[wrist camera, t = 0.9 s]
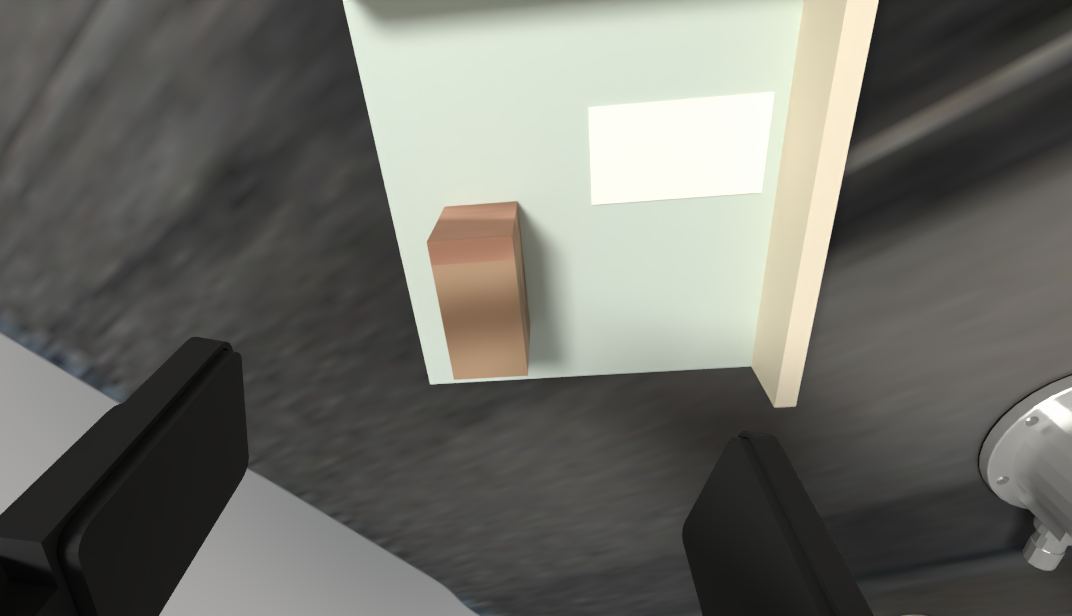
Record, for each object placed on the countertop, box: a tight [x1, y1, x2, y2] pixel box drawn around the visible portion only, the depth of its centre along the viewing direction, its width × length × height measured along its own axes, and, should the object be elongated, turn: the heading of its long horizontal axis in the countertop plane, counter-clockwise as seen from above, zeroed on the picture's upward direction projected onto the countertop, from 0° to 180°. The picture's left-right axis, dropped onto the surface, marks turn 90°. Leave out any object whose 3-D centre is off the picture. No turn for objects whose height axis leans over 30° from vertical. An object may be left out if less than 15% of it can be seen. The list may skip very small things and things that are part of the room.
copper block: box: [427, 201, 530, 380], centre depth 29 cm, size 8×4×5 cm, turn 5°
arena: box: [343, 0, 879, 408], centre depth 27 cm, size 24×22×4 cm
